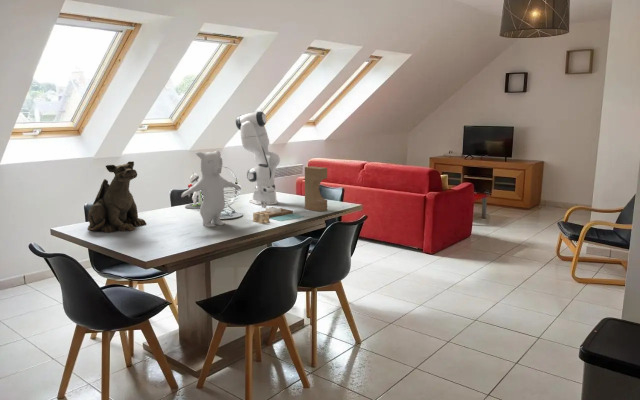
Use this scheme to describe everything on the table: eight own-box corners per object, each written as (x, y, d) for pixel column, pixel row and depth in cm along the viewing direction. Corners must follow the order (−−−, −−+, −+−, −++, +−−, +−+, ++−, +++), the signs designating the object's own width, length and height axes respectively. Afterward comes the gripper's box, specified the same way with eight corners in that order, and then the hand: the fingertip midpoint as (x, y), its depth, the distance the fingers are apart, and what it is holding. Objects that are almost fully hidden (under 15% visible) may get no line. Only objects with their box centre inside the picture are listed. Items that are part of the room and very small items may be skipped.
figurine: (195, 204, 381) (193, 170, 377) (213, 205, 374) (212, 172, 370) (180, 208, 366) (178, 173, 362) (199, 210, 359) (197, 174, 355)
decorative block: (327, 210, 358) (327, 167, 353) (320, 211, 352) (320, 168, 347) (311, 207, 368) (311, 166, 363) (304, 209, 362) (304, 167, 357)
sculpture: (118, 237, 283) (113, 165, 276) (76, 229, 300) (70, 162, 293) (160, 226, 309) (156, 160, 302) (119, 220, 327) (115, 158, 320)
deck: (255, 215, 341) (255, 212, 340) (280, 210, 356) (280, 208, 355) (267, 218, 331) (267, 215, 331) (292, 213, 346) (292, 210, 346)
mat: (268, 218, 332) (268, 217, 332) (292, 214, 345) (292, 213, 345) (280, 221, 323) (280, 220, 323) (304, 216, 337) (304, 216, 337)
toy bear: (191, 233, 292) (188, 154, 284) (176, 228, 304) (172, 153, 296) (250, 221, 322) (248, 150, 314) (234, 217, 334) (232, 148, 326)
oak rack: (252, 221, 323) (252, 212, 322) (260, 219, 327) (260, 211, 326) (262, 223, 316) (261, 215, 315) (269, 222, 320) (269, 213, 319)
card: (265, 211, 345) (265, 208, 345) (272, 209, 349) (272, 207, 349) (273, 213, 339) (273, 210, 338) (280, 211, 343) (280, 208, 342)
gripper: (250, 186, 354) (251, 206, 356) (268, 190, 339) (269, 210, 341) (258, 185, 358) (258, 205, 360) (276, 189, 343) (276, 209, 346)
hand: (263, 207), depth 351 cm, fingers closed
